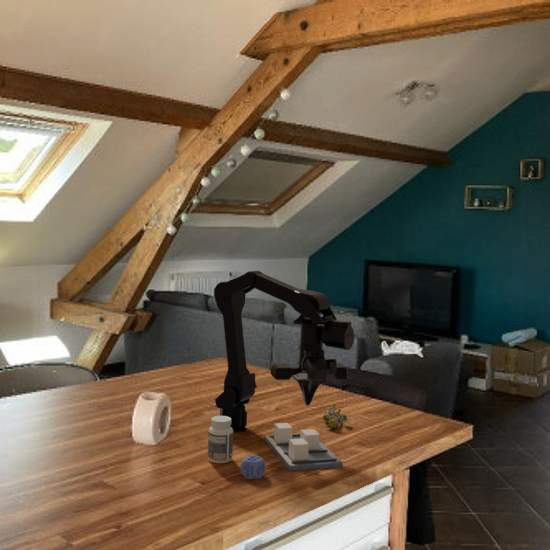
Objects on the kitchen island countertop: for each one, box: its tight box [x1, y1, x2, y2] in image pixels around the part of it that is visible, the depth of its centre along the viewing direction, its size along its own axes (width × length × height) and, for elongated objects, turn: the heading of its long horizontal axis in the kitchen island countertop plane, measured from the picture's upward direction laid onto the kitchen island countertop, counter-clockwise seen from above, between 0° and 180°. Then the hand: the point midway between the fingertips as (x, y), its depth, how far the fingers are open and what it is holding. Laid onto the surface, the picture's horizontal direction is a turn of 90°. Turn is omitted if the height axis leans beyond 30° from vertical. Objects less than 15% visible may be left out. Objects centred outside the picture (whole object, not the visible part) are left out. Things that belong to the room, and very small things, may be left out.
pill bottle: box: [207, 415, 234, 464], centre depth 159 cm, size 6×6×10 cm
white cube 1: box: [288, 438, 309, 461], centre depth 160 cm, size 4×4×4 cm
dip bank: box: [263, 433, 344, 472], centre depth 167 cm, size 13×21×1 cm, turn 17°
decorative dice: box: [240, 455, 266, 480], centre depth 151 cm, size 4×4×4 cm
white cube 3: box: [273, 422, 294, 443], centre depth 171 cm, size 4×4×4 cm
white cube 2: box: [299, 428, 320, 450], centre depth 167 cm, size 4×4×4 cm
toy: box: [322, 403, 349, 431], centre depth 191 cm, size 5×5×15 cm
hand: (307, 404), depth 171 cm, fingers closed
